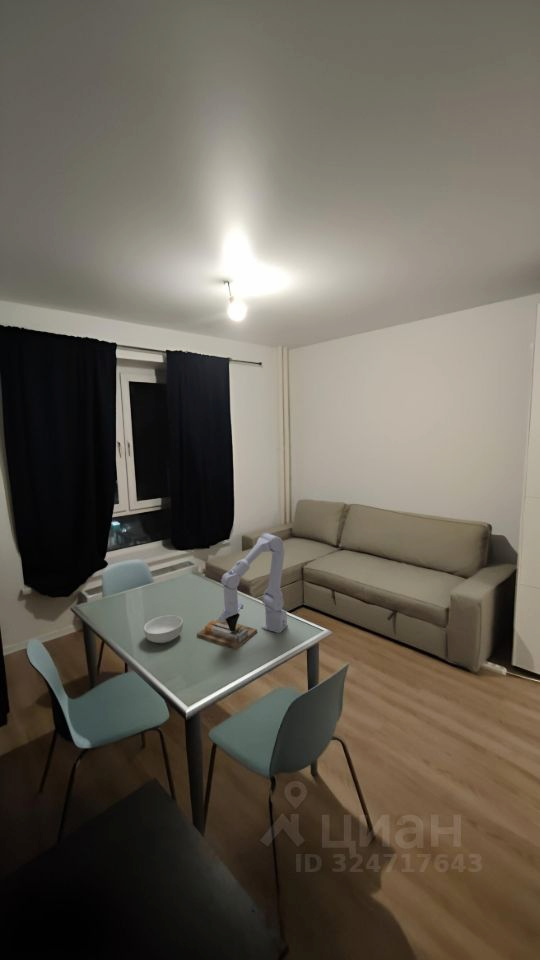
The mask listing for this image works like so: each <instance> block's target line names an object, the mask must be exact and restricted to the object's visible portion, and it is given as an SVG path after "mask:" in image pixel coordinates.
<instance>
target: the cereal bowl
mask: <svg viewBox="0 0 540 960" xmlns="http://www.w3.org/2000/svg"><path fill="white" fill-rule="evenodd" d="M183 627H184V621H183V618H182V617H180V616H178V615H174V614H173V615H172V614H171V615H170V614H169V615H168V614H167V615H162V616H157V617H155V618H153V619H150V620H149V621H147V622H146V623H145V624H144V626H143V632H144V633H143V634H144V636H145V638H146V639H147V640H148V641H149V642H151V643H156V644H157V643H158V644H165V643H169V642H171V641H172V640H175V638H177V637H179V635H180V634H181V633H182V631H183V629H184V628H183Z"/></svg>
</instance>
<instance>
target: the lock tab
mask: <svg viewBox="0 0 540 960" xmlns="http://www.w3.org/2000/svg"><path fill="white" fill-rule="evenodd" d="M238 624H239V623H237V624H236V628H235V631H237V630H238V629H240V628H241V625H242V624H240V625H238Z"/></svg>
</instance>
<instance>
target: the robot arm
mask: <svg viewBox="0 0 540 960" xmlns="http://www.w3.org/2000/svg"><path fill="white" fill-rule="evenodd" d="M264 552H265V553H266V552H268V553H269V552H270V553H271V554H272V555H271V563H270V570H269V577H268V585H267V588H265V589H264V593H263V595H262V598H261V601H262V604H264V607H265V610H264V611H265V624H264V625H263V626H262V629H263V630H267V631H271V632H274V633H278V634H280V633H281V632H283V631H284V630H285V629H286V628H287V627H288V625H289V624H288V618H287V617H288V614H287V612H286V610H284V609H283V607H284V604H285V602H284V599H283V598H284V595H283V592H282V589H281V585H282V584H281V583H282V576H283V567H284V559H285V547H284V540H283V539H282V537H280V536H277V535H275V534H271V533H269V532H264V533H262V534H261V535H260V537H258V539H257V541H256V543H255V545H254V546H253V547H252V549H250V550H249V552H248V554H247V555H246V556H245V557H244V558H243V559H239V560H237V561H236V562H235V564H234V565H233V567H231V568H230V569H229V570H228V571H227V572H224V574H223V575H222V577H221V579H220V582H221V584H222V585H223V600H224V604H223V605H224V608H223V609H222V611H223V612H222V613H221V615H219V617H218V619H219V621H220V622H224V620H226V622H227V624H228V626H229V629H230V631H233V632H234V631H235V628H236V623H237V624H238V620H239V618H240V613H239V612H240V611H241V610H243V609H244V604H243V603H240V602H239V599H238V586H239V585H240V581H241V579H242V578H243V576H244V575H245V574H246V573H247V572H248V571H249V570H250V565H251V564H252V563H253V562H254V561H255V560H256V559H257V558H258V557H259V556H260V555H261V554H262V553H264Z"/></svg>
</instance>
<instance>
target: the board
mask: <svg viewBox="0 0 540 960" xmlns="http://www.w3.org/2000/svg"><path fill="white" fill-rule="evenodd" d="M215 621H216V622H217V623H221V624H224V625H228V624H227V622H226V620H224V622H220V621H219V618H218V619H217V620H215ZM236 624H238V625H241V628H240V629H242V631H243V630H245V629H248V636H247V637H246V638H245V639H244V640H242V641H241V642H240V643H237V642H234V641H231V640H228V639H225V638H222V637H219V636H216V635H212V634H208V633H205V627H204V628H203V629H201V630H200V631H198V632H196V637H197V638H200V639H203V640H205V641H209V642H211V643H214V644H218V645H220V646H224V647H227V648H230V649H232V650H235V651H236V650H238V649H239V648H240V647H241V646H242V645H244V644H245V643H246V642H247V641H249V640H250V639H251V638H252V637H253V636H255V635H256V634H257V633H258V629H257V628H253V627H250V626H246V625H243V624H240V623H238V622H237V623H236Z"/></svg>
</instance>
